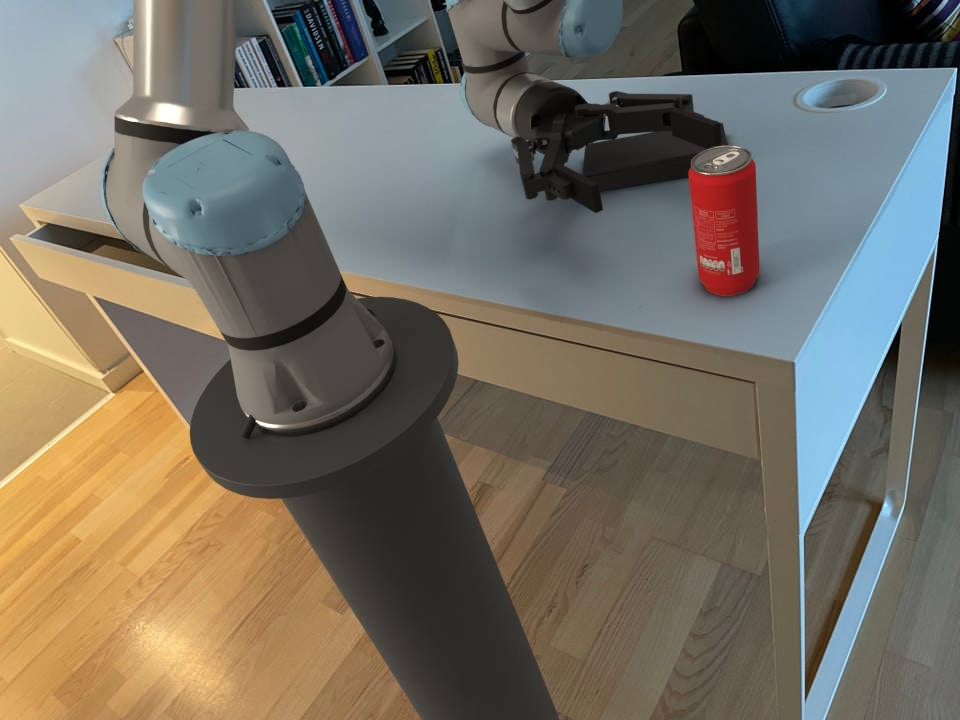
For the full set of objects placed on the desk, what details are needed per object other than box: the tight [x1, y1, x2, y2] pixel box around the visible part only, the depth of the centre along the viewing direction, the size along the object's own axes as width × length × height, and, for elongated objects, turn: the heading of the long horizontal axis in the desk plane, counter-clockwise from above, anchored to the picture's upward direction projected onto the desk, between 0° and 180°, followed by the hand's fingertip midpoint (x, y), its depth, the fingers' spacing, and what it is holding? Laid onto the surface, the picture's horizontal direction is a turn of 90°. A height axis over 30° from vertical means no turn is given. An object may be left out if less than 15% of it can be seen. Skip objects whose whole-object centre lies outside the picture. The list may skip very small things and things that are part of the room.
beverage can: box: [688, 145, 761, 297], centre depth 65 cm, size 5×5×12 cm
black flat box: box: [582, 122, 729, 192], centre depth 88 cm, size 16×8×2 cm, turn 82°
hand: (659, 167), depth 70 cm, fingers open, 13 cm apart
